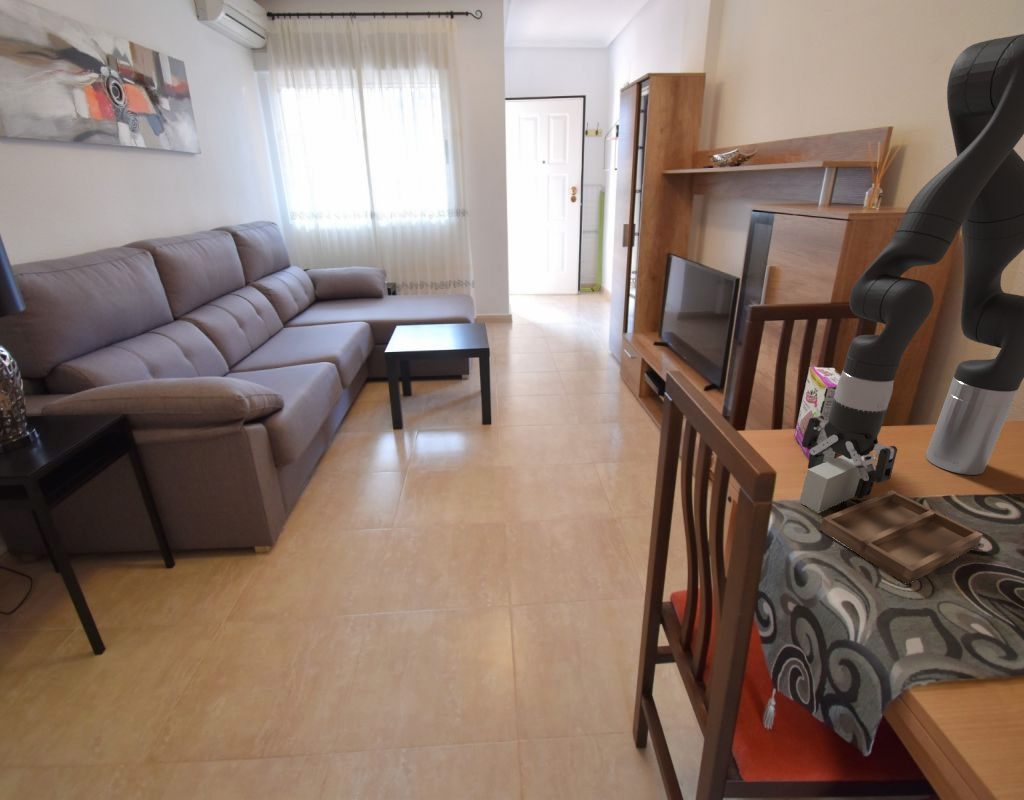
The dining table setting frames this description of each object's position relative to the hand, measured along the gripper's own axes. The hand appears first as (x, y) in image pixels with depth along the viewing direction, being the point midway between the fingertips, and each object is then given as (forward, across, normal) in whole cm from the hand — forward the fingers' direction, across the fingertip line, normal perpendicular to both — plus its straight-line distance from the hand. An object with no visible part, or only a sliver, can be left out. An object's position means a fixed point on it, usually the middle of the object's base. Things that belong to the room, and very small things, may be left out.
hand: (836, 484), depth 92 cm
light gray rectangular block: (+3, 0, 0) cm, 3 cm away
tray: (+3, -12, +2) cm, 12 cm away
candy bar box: (+3, +13, -12) cm, 18 cm away
